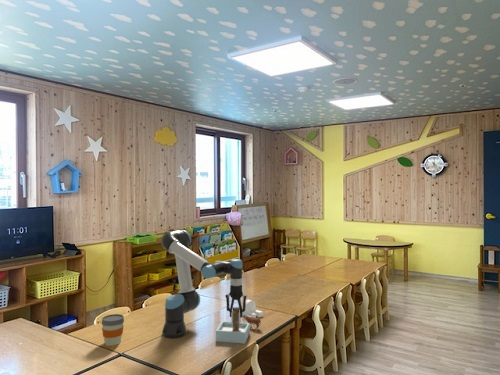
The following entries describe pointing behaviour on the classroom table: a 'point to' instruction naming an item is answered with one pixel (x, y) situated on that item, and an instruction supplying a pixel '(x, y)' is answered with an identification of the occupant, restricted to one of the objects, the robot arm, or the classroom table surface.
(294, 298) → the classroom table surface
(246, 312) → the white rounded shape
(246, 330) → the blue box
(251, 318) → the bull figurine
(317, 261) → the classroom table surface
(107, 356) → the classroom table surface
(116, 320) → the reusable coffee cup
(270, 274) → the classroom table surface
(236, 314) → the walnut peg
